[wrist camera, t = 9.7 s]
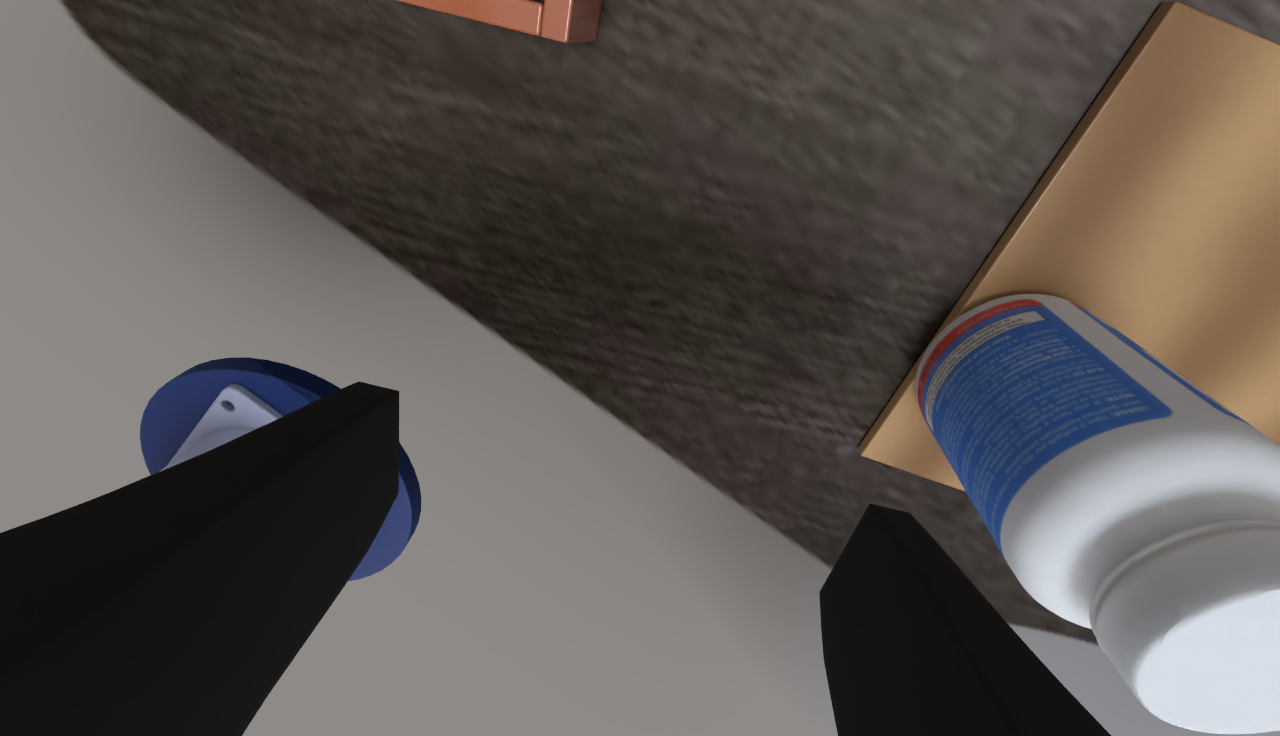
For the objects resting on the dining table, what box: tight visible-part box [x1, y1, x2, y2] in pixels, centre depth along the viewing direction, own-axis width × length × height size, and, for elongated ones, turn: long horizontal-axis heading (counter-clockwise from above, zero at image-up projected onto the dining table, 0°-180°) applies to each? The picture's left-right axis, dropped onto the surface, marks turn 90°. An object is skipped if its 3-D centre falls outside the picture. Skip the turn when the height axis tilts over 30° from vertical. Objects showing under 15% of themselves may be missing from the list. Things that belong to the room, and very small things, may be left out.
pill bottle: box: [915, 294, 1280, 734], centre depth 14 cm, size 6×5×10 cm
